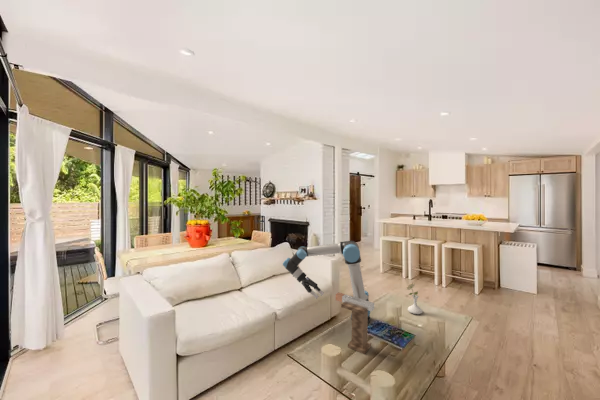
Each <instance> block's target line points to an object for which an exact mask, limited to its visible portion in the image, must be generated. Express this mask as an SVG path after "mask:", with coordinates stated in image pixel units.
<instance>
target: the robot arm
mask: <svg viewBox="0 0 600 400" xmlns="http://www.w3.org/2000/svg"><path fill="white" fill-rule="evenodd" d="M333 254H334V255H336V254H340V255H342V256H343V260H344V263H345V264H346V265H347V268H348V273H349V278H350V284H351V289H352V295H353V296H352V297H356V298H359V299H362V300H366V301H369V296H370V295H369V292H368V291H367V290H365V285H364V280H363V275H362V270H361V265H360V264H361V262H362V258H361V250H360V246H359V245H358V243H357V242H356V241H354V240H346V241H345V240H344V241H339V242H337V243H331V244H322V245H313V246H299V247H298V248H297V250H296V252H295V253H294V254H293V256H292V257H287V258H286V259H285V260H284V261H282V266H283V267H284V268H285V269H286V270H287V272H289V273H290V274H291V276H292V277H293V278H295V279H296V281H297V282H298V283H301V285H302V286H303V287H304V289H305V290H306V292H307V293H308V294H309V293H310V295H312V297H313V298H314V299H315V300H317V299H318V298H319V297H320V296H323V295H324V293H325V292H324V291H323V290H322V289H321V288H320V287H319V286H318V283H316V282H315V281H314V280H312V279H311V278H309V276H307V274H306V273H305V272H303V270H302V269H301V268H300V267H299V265H300V264H301V263H302V262H303V261H304V260H305V259H306V257H315V256H325V255H326V256H327V255H333ZM312 288H313V289H314V290H315V291H316V292H317V293H318V294H317V293H316V292H315V291H314V290H313V289H312ZM319 295H320V296H319ZM369 302H370V301H369ZM370 314H371V311H369V310H368V324H369V323H370V322H371V315H370ZM350 320H351V321H352V313H351V314H350Z"/></svg>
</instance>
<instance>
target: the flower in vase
mask: <svg viewBox="0 0 600 400" xmlns="http://www.w3.org/2000/svg"><path fill="white" fill-rule="evenodd" d="M414 287H415V283H413V282H412V283H409V285H407V286H406V290H408V291H409V290H412V292H410V293H408V295H409V296H412V299H413V304H412V305H410V306H408V307H407V311H408V312H409V313H411V314H413V315H421V314H422V313H423V309H422V308H421V307H420V306H419V305H418V304H417V302H418V298H419V297H420V296H419V295H418V294H419V292H418V291H415V292H414V290H413V288H414Z"/></svg>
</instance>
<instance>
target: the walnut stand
mask: <svg viewBox="0 0 600 400" xmlns="http://www.w3.org/2000/svg"><path fill="white" fill-rule="evenodd" d="M340 306H341V308H343V309H346V310H349V311H351V314H352V320H351V340H350V341H349V343H347V348H349V349H351V350H354V351H356V352H359V353H360V354H363V355H365V354H366V353H367V352H368V351H369V350H370V348H371V347H372V344H371V343H370V342H368V329H369V328H368V326H369V325H368V324H369V323H368V310H365V309H362V308H359V307H356V306H353V305H350V304H346V303H343V302H341V305H340Z"/></svg>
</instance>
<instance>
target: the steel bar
mask: <svg viewBox="0 0 600 400" xmlns="http://www.w3.org/2000/svg"><path fill="white" fill-rule="evenodd" d="M335 301H337V302H341V303H346V304H350V305H353V306H356V307H359V308H362V309H365V310H369V311H370V312H373V311H374V310H375V302H372V301H366V300H362V299H359V298H356V297H353V296H352V295H348V294H345V293H342V292H337V293H335Z"/></svg>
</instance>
